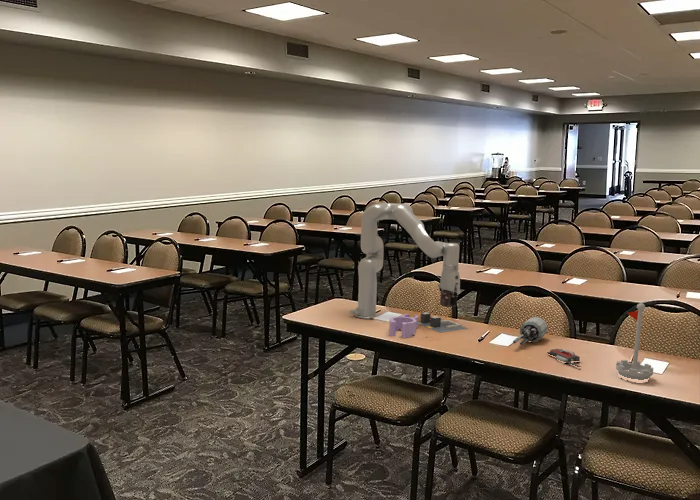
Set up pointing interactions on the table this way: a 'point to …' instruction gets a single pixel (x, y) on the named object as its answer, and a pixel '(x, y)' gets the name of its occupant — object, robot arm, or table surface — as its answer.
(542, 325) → the device
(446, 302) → the box
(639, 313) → the flag stand
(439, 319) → the breaker
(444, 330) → the panel
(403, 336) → the clip
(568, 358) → the walkie-talkie
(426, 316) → the block
